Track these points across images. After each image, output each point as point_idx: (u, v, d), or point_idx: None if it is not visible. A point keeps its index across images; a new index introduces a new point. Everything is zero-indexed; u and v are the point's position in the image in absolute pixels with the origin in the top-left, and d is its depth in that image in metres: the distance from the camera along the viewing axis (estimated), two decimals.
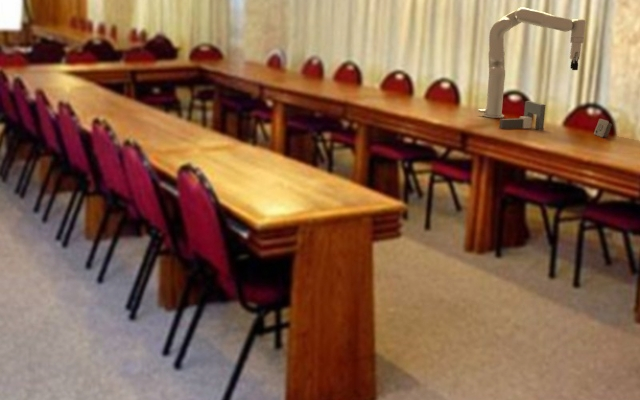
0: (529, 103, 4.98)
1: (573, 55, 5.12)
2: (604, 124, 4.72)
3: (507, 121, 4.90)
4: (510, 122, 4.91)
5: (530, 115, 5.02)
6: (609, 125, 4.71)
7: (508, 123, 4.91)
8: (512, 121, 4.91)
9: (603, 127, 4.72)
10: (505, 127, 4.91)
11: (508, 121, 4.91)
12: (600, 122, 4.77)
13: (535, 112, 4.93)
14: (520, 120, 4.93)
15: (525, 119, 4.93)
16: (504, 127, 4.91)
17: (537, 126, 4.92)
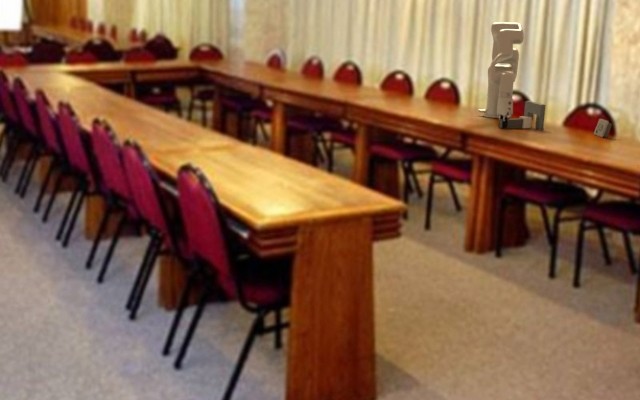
0: (529, 103, 4.98)
1: None
2: (604, 124, 4.72)
3: None
4: (509, 122, 4.91)
5: (530, 115, 5.02)
6: (609, 125, 4.71)
7: (508, 123, 4.91)
8: (512, 121, 4.91)
9: (603, 127, 4.72)
10: None
11: (508, 121, 4.90)
12: (600, 122, 4.77)
13: (535, 112, 4.93)
14: (520, 120, 4.93)
15: (525, 119, 4.93)
16: None
17: (537, 126, 4.92)
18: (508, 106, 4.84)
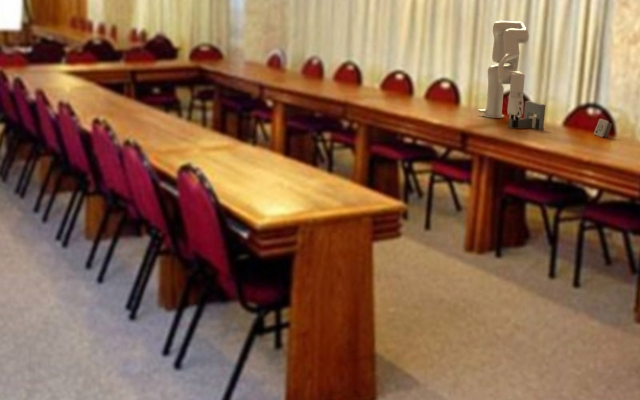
0: (529, 103, 4.98)
1: None
2: (604, 124, 4.72)
3: None
4: (519, 121, 4.93)
5: (530, 115, 5.02)
6: (609, 125, 4.71)
7: None
8: (521, 121, 4.93)
9: (603, 127, 4.72)
10: None
11: None
12: (600, 122, 4.77)
13: (535, 112, 4.93)
14: (529, 120, 4.95)
15: (534, 119, 4.95)
16: None
17: (537, 126, 4.92)
18: (519, 106, 4.86)
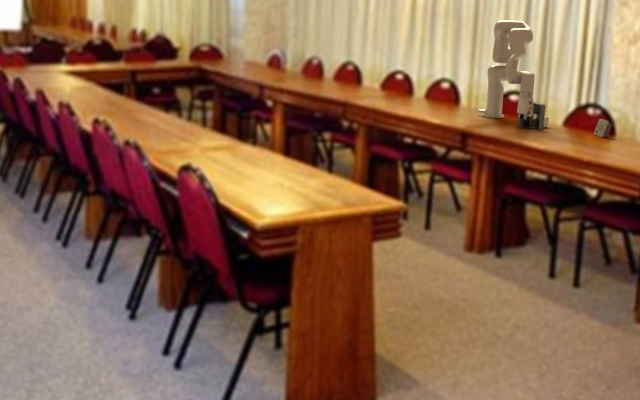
0: None
1: None
2: (604, 124, 4.72)
3: None
4: None
5: None
6: (609, 125, 4.71)
7: None
8: None
9: (603, 127, 4.72)
10: (522, 126, 4.94)
11: None
12: (600, 122, 4.77)
13: (535, 112, 4.93)
14: None
15: None
16: (521, 127, 4.94)
17: (537, 126, 4.92)
18: (529, 106, 4.89)
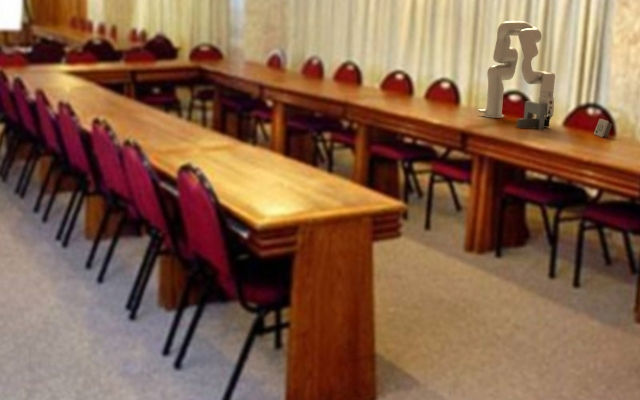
0: (529, 103, 4.98)
1: None
2: (604, 124, 4.72)
3: (524, 120, 4.94)
4: (527, 121, 4.95)
5: (530, 115, 5.02)
6: (609, 125, 4.71)
7: (525, 123, 4.95)
8: (529, 120, 4.95)
9: (603, 127, 4.72)
10: (522, 126, 4.95)
11: (525, 120, 4.94)
12: (600, 122, 4.77)
13: (535, 112, 4.93)
14: None
15: None
16: (521, 126, 4.94)
17: (537, 126, 4.92)
18: (549, 105, 4.93)
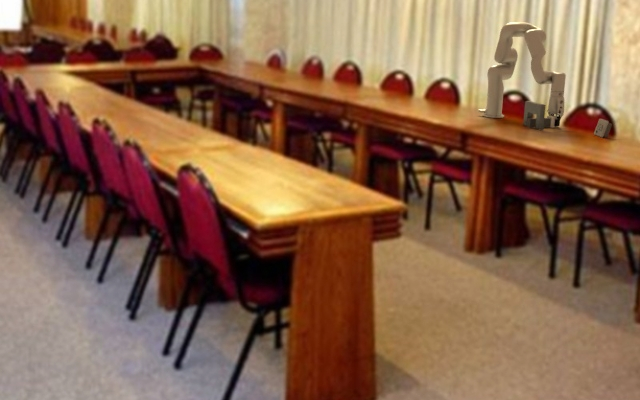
0: (529, 103, 4.98)
1: None
2: (604, 124, 4.72)
3: (535, 120, 4.97)
4: None
5: (530, 115, 5.02)
6: (609, 125, 4.71)
7: None
8: None
9: (603, 127, 4.72)
10: (533, 126, 4.97)
11: None
12: (600, 122, 4.77)
13: (535, 112, 4.93)
14: (547, 119, 4.99)
15: (552, 118, 4.99)
16: (532, 126, 4.97)
17: (537, 126, 4.92)
18: (560, 105, 4.96)
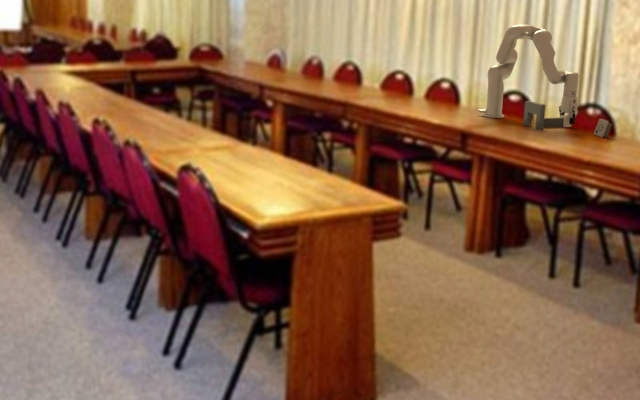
0: (529, 103, 4.98)
1: None
2: (604, 124, 4.72)
3: (548, 120, 4.99)
4: (551, 121, 5.00)
5: (530, 115, 5.02)
6: (609, 125, 4.71)
7: (549, 122, 5.00)
8: (553, 120, 5.01)
9: (603, 127, 4.72)
10: (546, 125, 5.00)
11: (549, 120, 5.00)
12: (600, 122, 4.77)
13: (535, 112, 4.93)
14: (561, 119, 5.02)
15: (565, 118, 5.02)
16: (545, 126, 5.00)
17: (537, 126, 4.92)
18: (573, 104, 4.99)
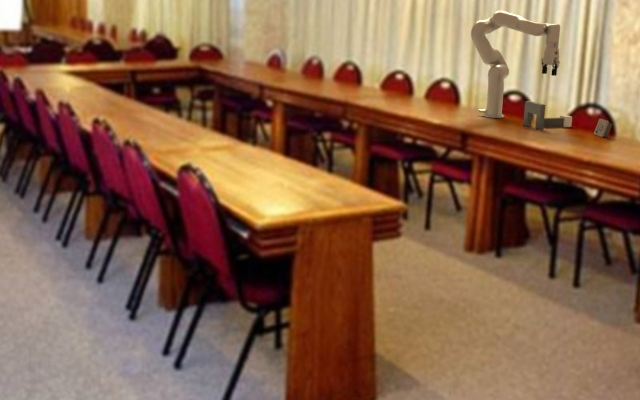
0: (529, 103, 4.98)
1: None
2: (604, 124, 4.72)
3: (548, 120, 4.99)
4: (551, 121, 5.00)
5: (530, 115, 5.02)
6: (609, 125, 4.71)
7: (549, 122, 5.00)
8: (553, 120, 5.01)
9: (603, 127, 4.72)
10: (546, 125, 5.00)
11: (549, 120, 5.00)
12: (600, 122, 4.77)
13: (535, 112, 4.93)
14: (561, 119, 5.02)
15: (565, 118, 5.02)
16: (545, 126, 5.00)
17: (537, 126, 4.92)
18: (554, 56, 5.05)
